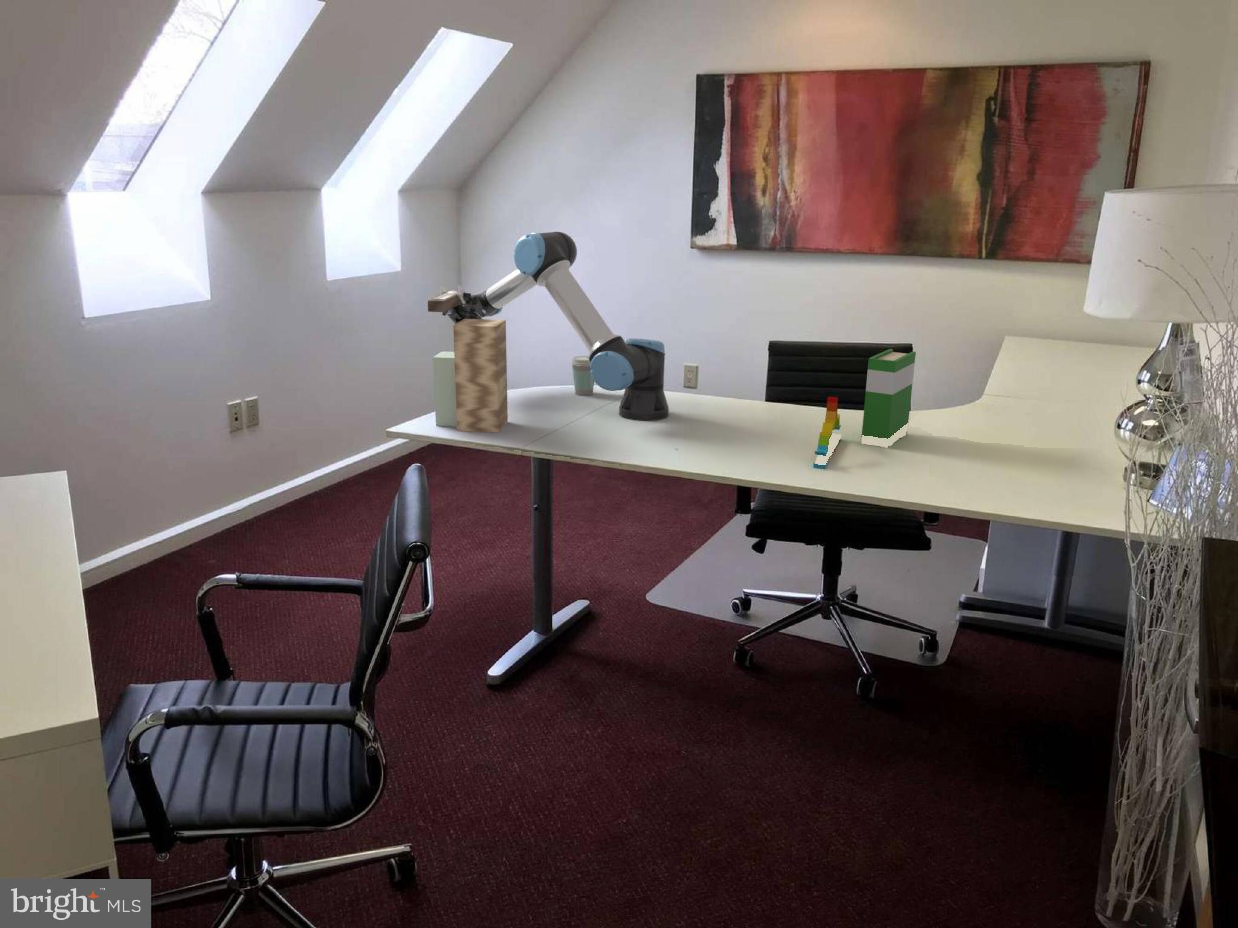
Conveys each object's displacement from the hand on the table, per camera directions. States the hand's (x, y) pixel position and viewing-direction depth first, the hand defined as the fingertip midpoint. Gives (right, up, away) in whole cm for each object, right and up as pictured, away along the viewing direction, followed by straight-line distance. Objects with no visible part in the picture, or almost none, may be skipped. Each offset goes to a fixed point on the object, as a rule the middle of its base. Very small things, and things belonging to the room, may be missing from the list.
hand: (450, 290), depth 275 cm
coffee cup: (+37, -26, +46) cm, 64 cm away
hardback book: (+123, -43, -3) cm, 130 cm away
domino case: (0, -5, -2) cm, 5 cm away
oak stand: (+9, -39, +4) cm, 40 cm away
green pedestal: (-1, -37, +8) cm, 38 cm away
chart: (+104, -47, -17) cm, 115 cm away
